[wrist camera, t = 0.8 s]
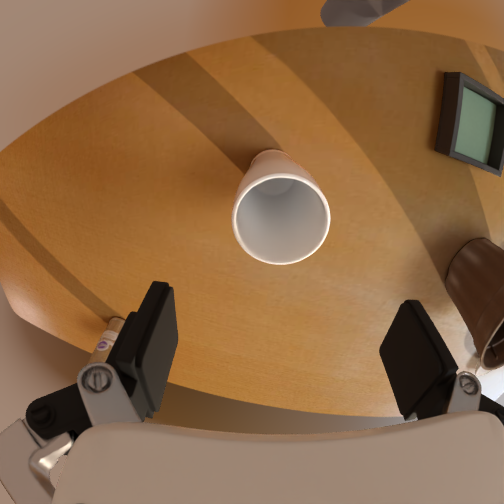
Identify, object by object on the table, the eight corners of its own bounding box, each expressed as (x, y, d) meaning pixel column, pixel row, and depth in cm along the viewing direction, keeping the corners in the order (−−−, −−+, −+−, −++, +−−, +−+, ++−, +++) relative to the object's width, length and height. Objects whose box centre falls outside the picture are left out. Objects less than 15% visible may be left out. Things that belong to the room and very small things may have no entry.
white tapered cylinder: (243, 198, 33) (231, 266, 20) (242, 142, 30) (228, 171, 17) (300, 199, 33) (325, 266, 20) (303, 143, 30) (337, 174, 17)
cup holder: (444, 72, 23) (460, 71, 20) (497, 101, 24) (512, 104, 21) (434, 150, 29) (448, 156, 26) (486, 170, 29) (500, 177, 26)
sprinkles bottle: (123, 314, 43) (93, 375, 32) (137, 333, 46) (111, 394, 34) (105, 318, 44) (73, 375, 33) (118, 336, 46) (92, 393, 35)
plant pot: (479, 205, 32) (548, 259, 18) (511, 253, 35) (560, 304, 21) (418, 284, 39) (465, 359, 25) (460, 316, 42) (497, 377, 28)
